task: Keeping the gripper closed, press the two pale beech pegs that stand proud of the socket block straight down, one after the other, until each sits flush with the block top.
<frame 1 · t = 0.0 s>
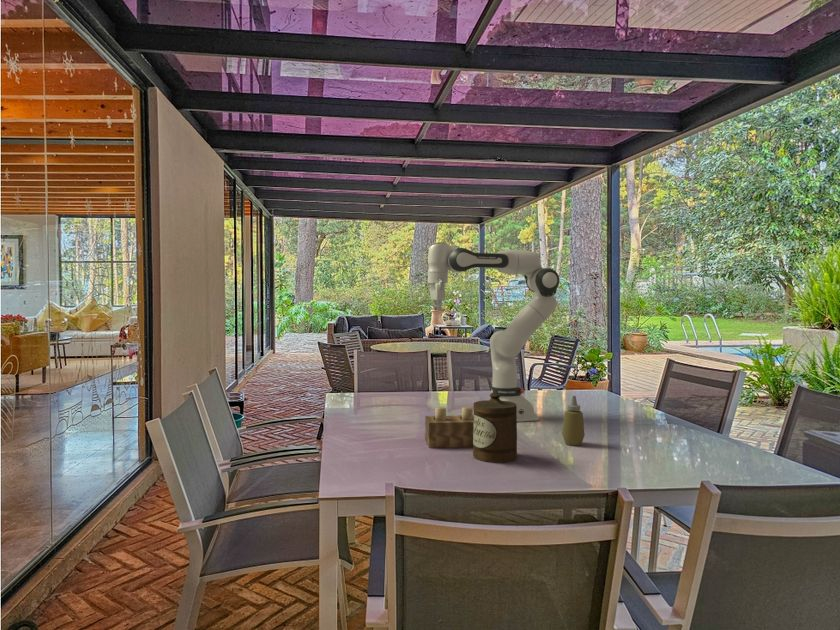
hand: (437, 310, 255), 48 cm above the table, fingers open, 8 cm apart
squeeze bottle: (573, 444, 215), on the table
socket block: (453, 442, 215), on the table
wooden container: (494, 457, 197), on the table
peg b: (440, 419, 214), point 9 cm above the table, slide at 0.0 cm
peg a: (467, 418, 215), point 9 cm above the table, slide at 0.0 cm
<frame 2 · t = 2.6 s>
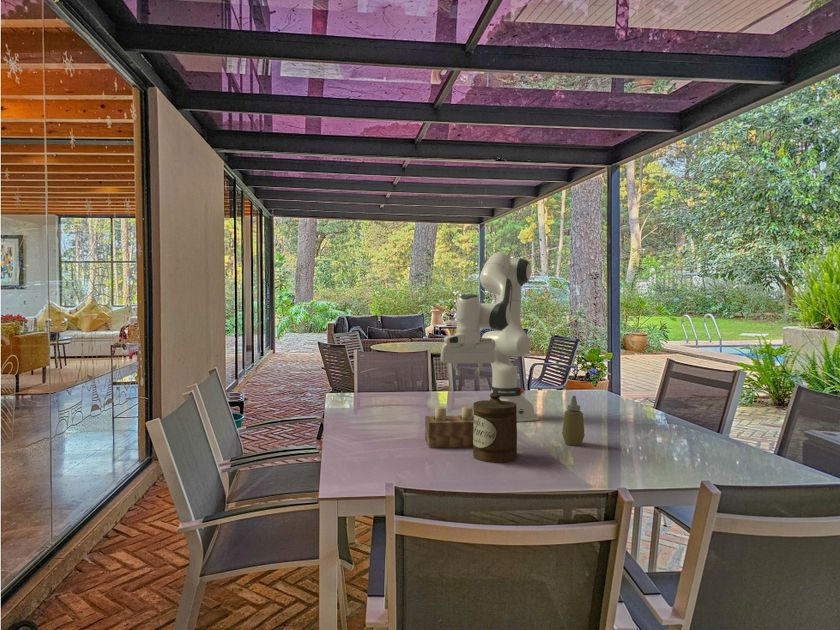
hand: (467, 375, 215), 25 cm above the table, fingers open, 6 cm apart
nothing on the table moved.
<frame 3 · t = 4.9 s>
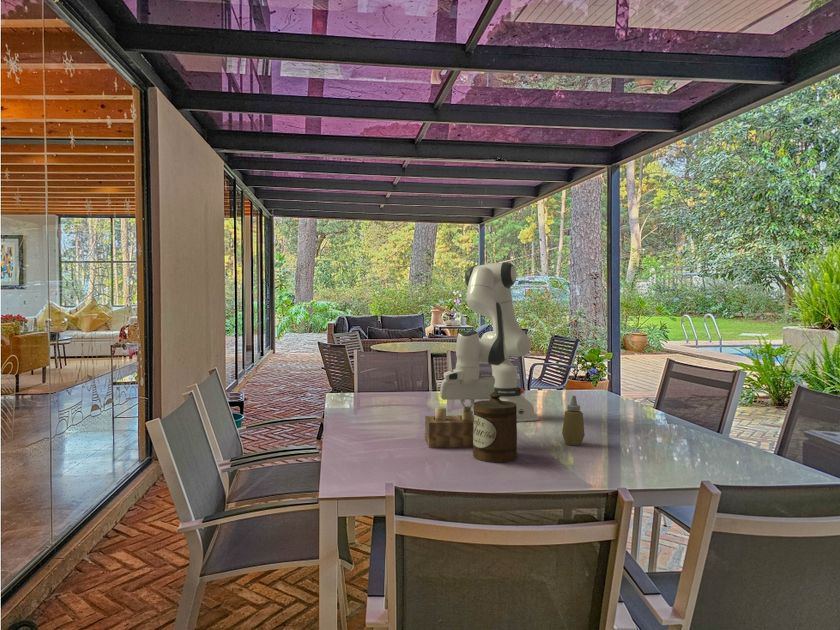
hand: (467, 411, 215), 12 cm above the table, fingers closed, pressing on peg a
peg a: (467, 422, 215), point 8 cm above the table, slide at 1.3 cm, touching gripper
everything else where it was.
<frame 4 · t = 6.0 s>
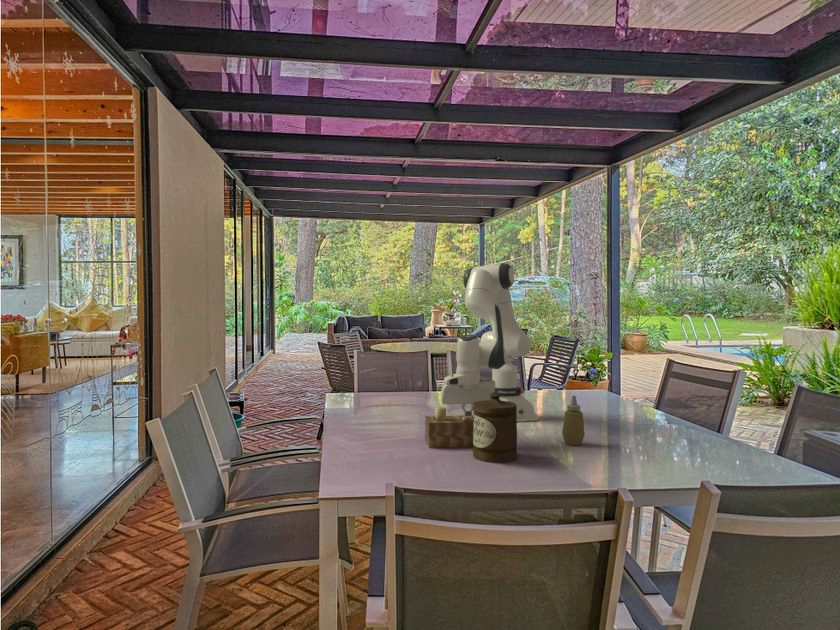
hand: (467, 415, 215), 10 cm above the table, fingers closed
peg a: (467, 428, 215), point 5 cm above the table, slide at 3.6 cm
everything else where it was.
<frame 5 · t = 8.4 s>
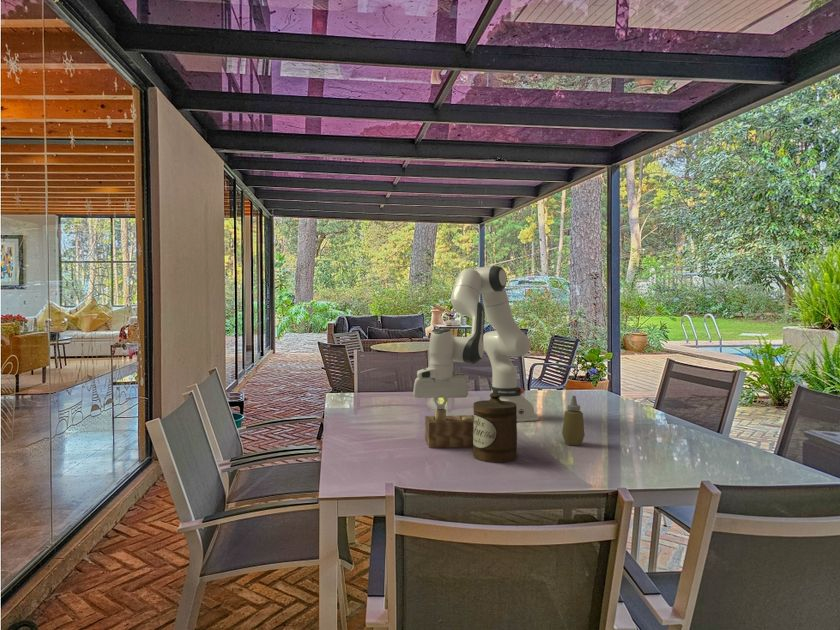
hand: (440, 409, 214), 13 cm above the table, fingers closed, pressing on peg b
peg b: (440, 420, 214), point 9 cm above the table, slide at 0.5 cm, touching gripper
everything else where it was.
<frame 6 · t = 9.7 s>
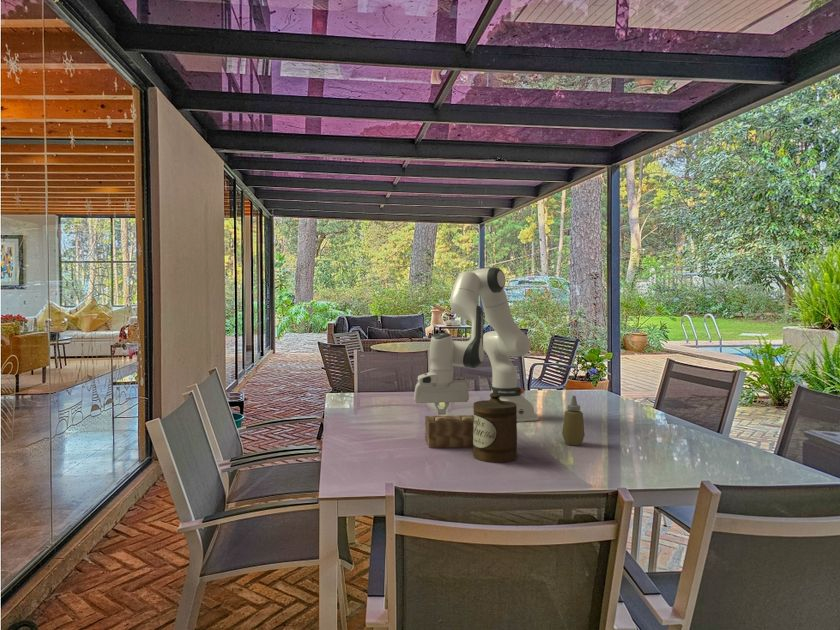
hand: (441, 414, 214), 11 cm above the table, fingers closed
peg b: (440, 428, 214), point 5 cm above the table, slide at 3.6 cm
everything else where it was.
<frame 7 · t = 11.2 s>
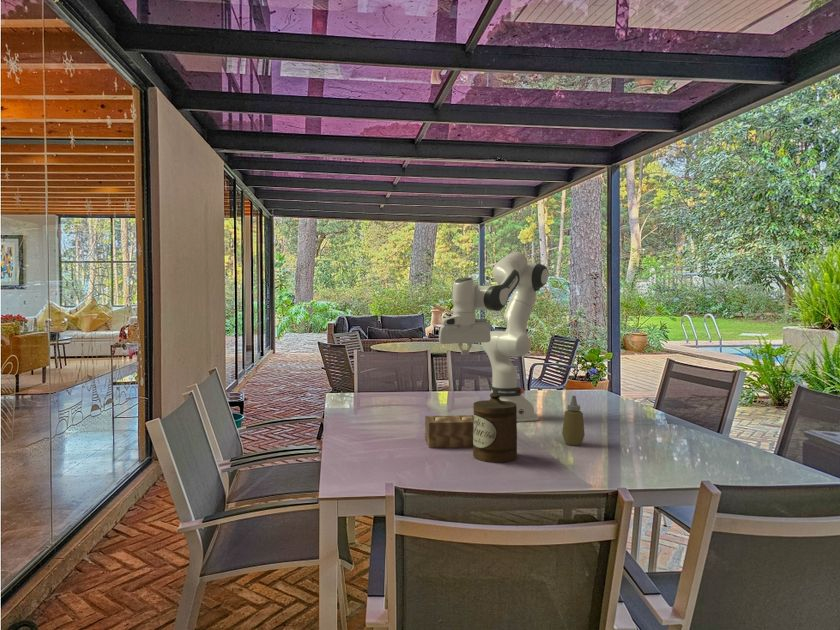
hand: (465, 354, 227), 32 cm above the table, fingers closed
nothing on the table moved.
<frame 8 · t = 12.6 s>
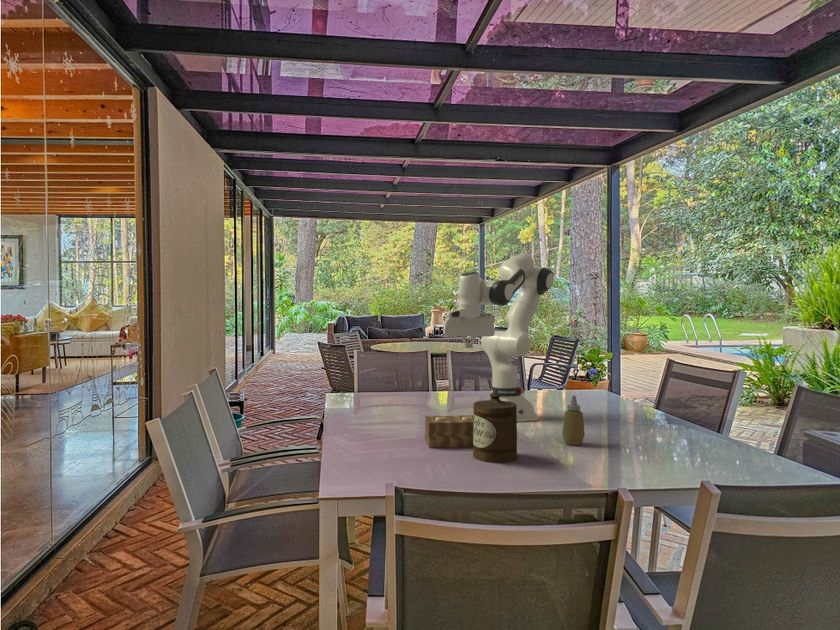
hand: (468, 347, 229), 34 cm above the table, fingers closed
nothing on the table moved.
at the end: peg a slide at 3.6 cm; peg b slide at 3.6 cm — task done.
